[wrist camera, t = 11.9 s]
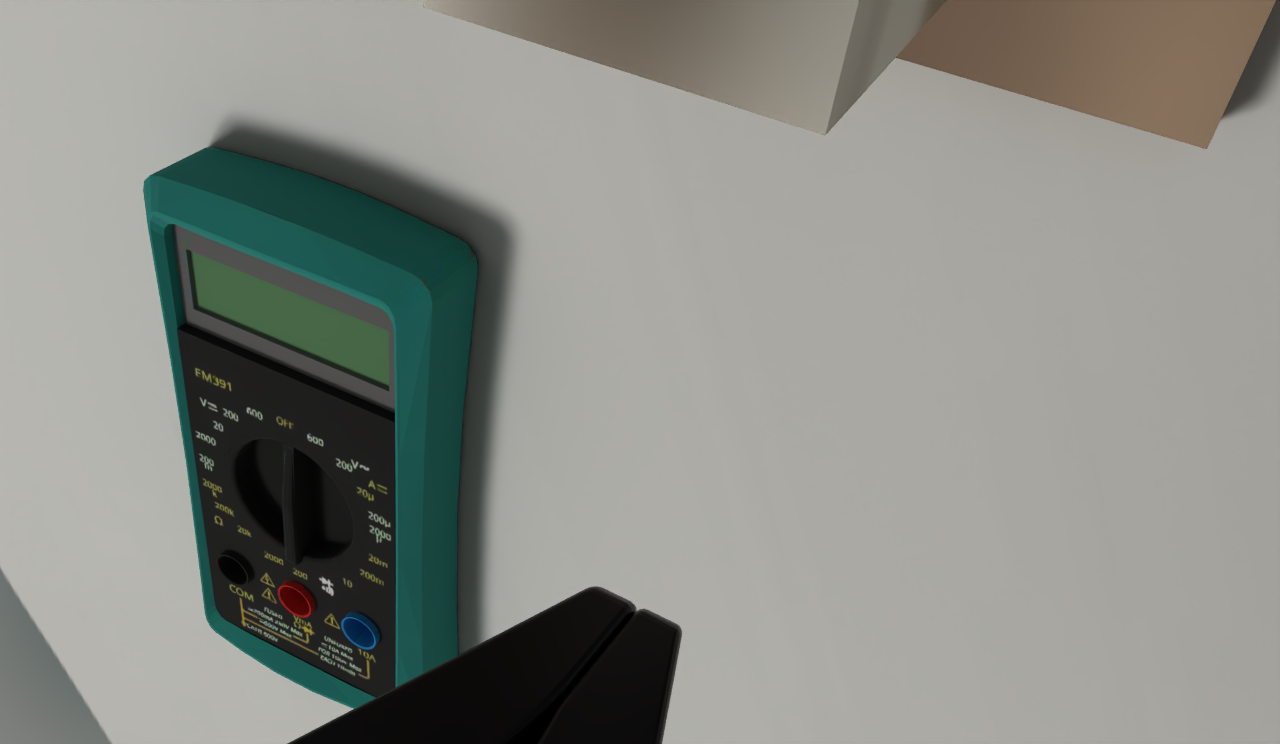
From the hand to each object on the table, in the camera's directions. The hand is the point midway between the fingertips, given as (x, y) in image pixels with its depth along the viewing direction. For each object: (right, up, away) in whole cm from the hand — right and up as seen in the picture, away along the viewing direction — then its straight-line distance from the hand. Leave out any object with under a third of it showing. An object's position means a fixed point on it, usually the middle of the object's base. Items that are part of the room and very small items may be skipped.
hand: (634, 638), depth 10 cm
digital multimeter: (-7, +1, +20) cm, 21 cm away
